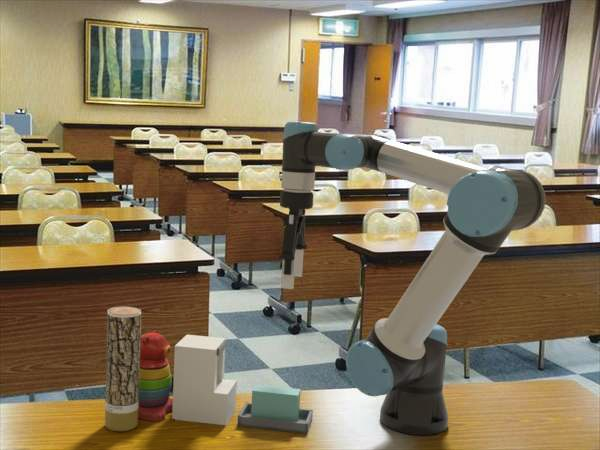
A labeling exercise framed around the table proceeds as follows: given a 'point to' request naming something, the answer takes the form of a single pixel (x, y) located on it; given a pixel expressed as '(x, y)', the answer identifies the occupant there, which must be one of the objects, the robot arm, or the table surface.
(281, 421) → the tray
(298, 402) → the teal block
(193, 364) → the dispenser
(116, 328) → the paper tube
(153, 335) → the stacking bear
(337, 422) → the table surface
